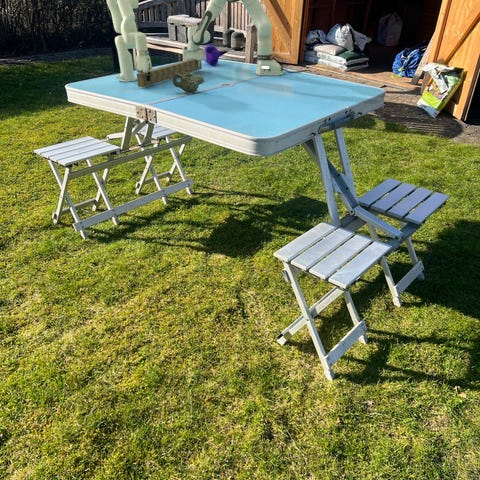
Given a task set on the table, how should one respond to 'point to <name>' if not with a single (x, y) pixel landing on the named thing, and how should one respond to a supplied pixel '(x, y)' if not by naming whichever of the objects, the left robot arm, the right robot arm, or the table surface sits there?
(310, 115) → the table surface
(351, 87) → the table surface
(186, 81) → the teapot
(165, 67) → the bar
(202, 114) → the table surface
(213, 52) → the toy
